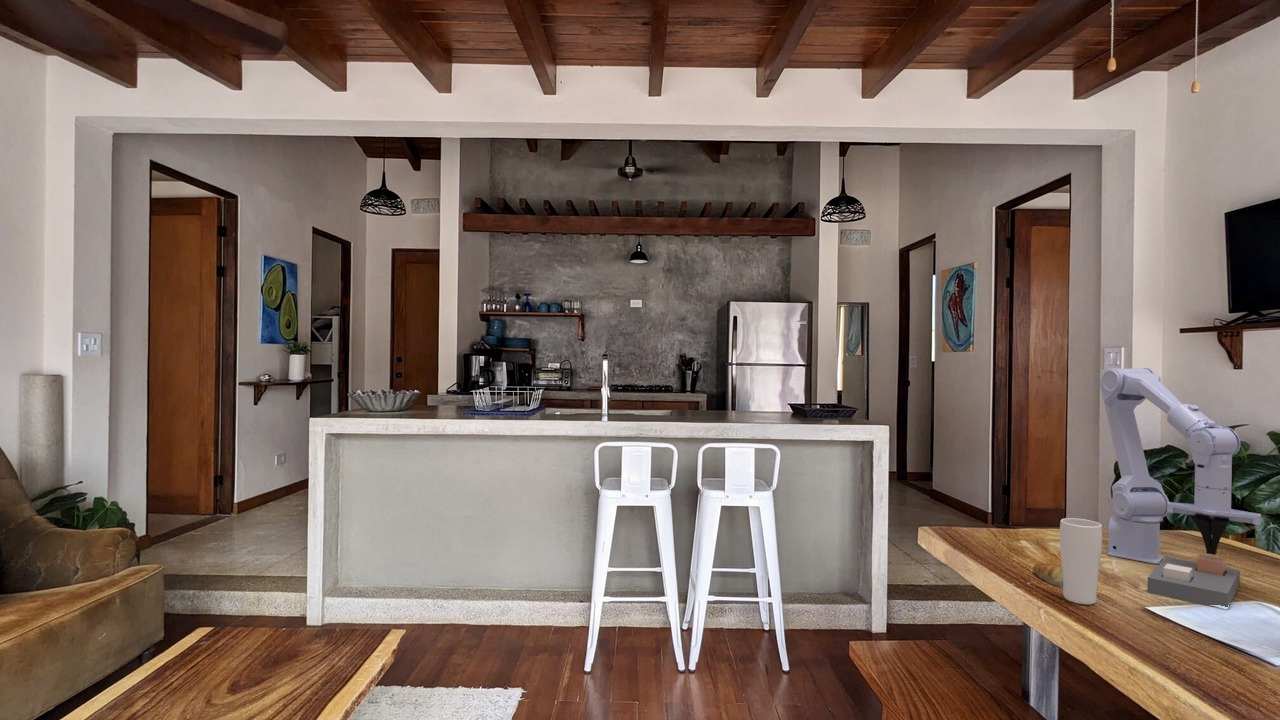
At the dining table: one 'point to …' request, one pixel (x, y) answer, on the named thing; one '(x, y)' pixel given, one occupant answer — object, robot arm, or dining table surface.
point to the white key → (1177, 572)
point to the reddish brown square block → (1211, 564)
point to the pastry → (1050, 573)
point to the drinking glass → (1080, 559)
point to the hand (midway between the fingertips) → (1211, 553)
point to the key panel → (1195, 584)
